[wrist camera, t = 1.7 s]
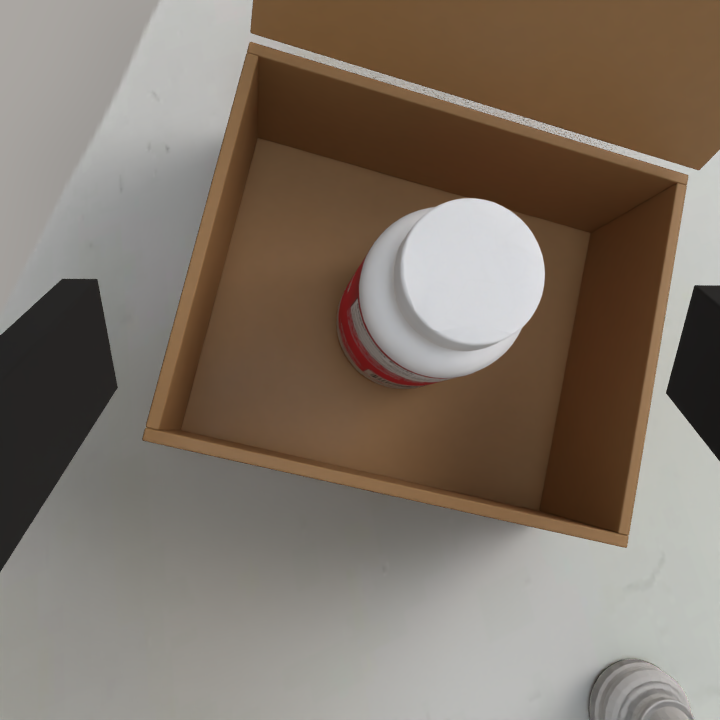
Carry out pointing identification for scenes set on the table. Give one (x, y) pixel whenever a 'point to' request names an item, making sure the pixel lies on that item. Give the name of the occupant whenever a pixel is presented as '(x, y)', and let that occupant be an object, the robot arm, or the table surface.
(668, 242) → the carton
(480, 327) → the pill bottle
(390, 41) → the flap
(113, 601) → the table surface
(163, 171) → the table surface
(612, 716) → the chess piece
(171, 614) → the table surface
